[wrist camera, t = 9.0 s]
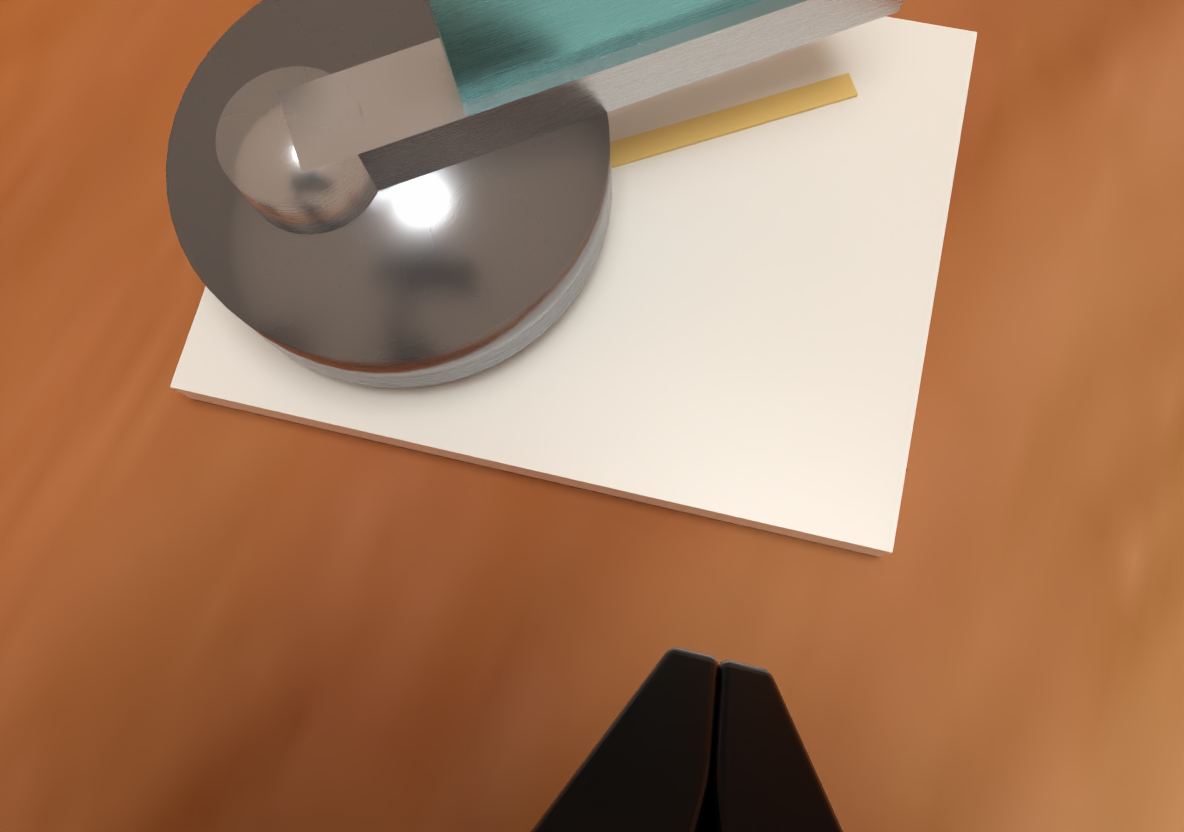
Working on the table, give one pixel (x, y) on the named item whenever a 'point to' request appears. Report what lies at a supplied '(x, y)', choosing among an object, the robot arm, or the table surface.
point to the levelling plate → (708, 304)
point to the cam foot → (432, 163)
